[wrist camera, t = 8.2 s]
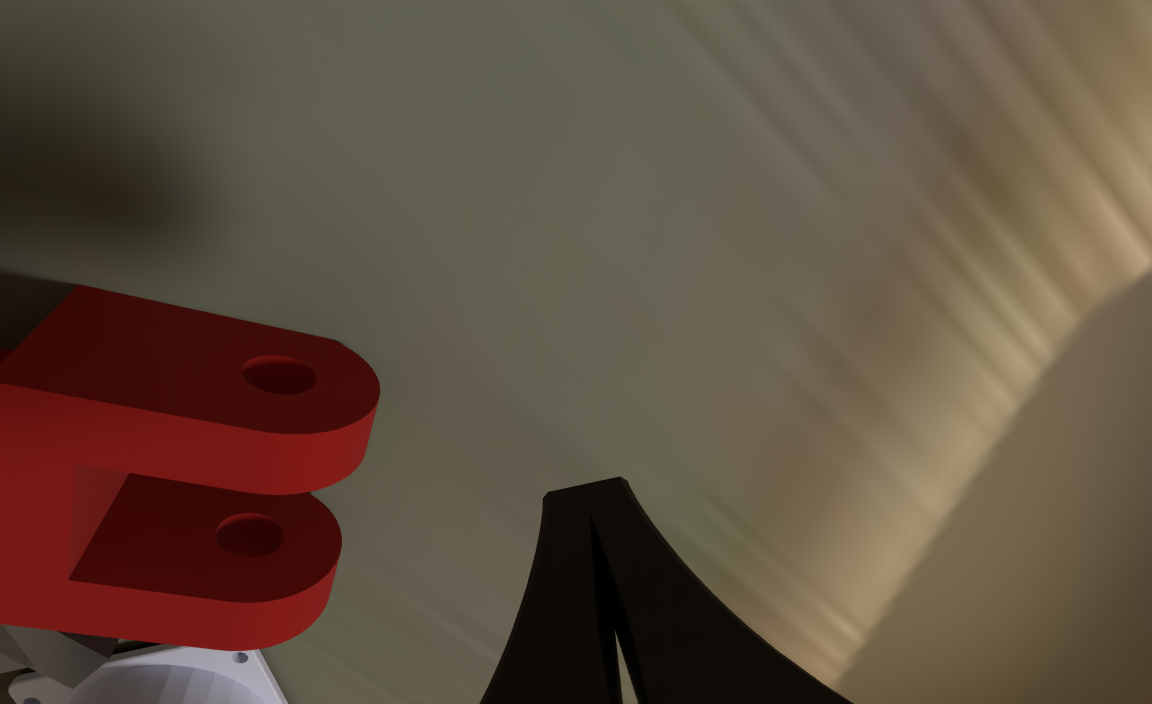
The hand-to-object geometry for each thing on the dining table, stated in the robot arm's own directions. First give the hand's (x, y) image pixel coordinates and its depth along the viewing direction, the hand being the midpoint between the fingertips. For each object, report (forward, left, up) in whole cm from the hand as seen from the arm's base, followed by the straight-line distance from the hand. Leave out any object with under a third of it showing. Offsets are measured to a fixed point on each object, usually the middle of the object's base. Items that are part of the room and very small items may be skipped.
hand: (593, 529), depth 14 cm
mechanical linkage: (-1, +13, -11) cm, 17 cm away
